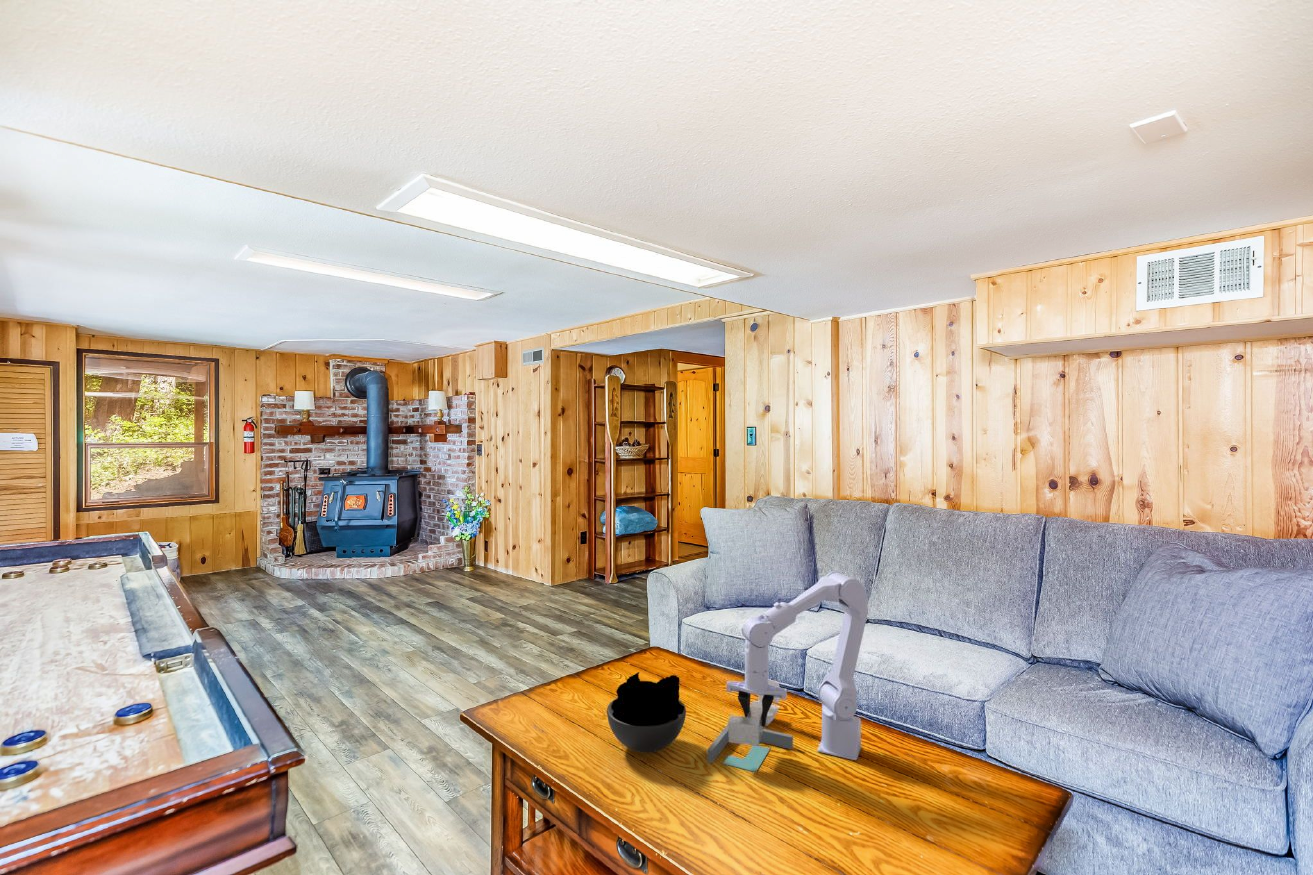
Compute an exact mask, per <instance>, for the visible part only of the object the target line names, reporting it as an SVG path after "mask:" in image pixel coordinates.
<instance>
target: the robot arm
mask: <svg viewBox="0 0 1313 875" xmlns="http://www.w3.org/2000/svg"><path fill="white" fill-rule="evenodd" d="M866 595H867V589H866V588H865V586H864V585H863V584H862V583H861V581H860V580H858V579H856V578H852V577H850V576H847V575H846V574H843V573H842V572H840V571H836V570H833V571H831V572H829V573H828V574H826V575H824V576H822V577H820V578H819V580H818V581H817V582H815V584H813V585H812V586H811V587H810V588H808V589H807V590H805V591H804V592H802V593H801V594H799V595H798V596H796V598H794V599H792V600H791V601H790V602H784V601H780V602H777V601H776V602H775V603H774V604H773V607H771V608H770V609H768V610H766V611H765V612H763V613H759V614H757V617H750V618H748V619H747V620H746V621H744V624H743V625H742V627H741V633H742V635H743V637H744V638H745V639H744V640H745V643H744V644H745V646H744V647H745V649H744V681H732V680H728V681H727V683H726V692H728V693H731V692H734V693H735V692H736V693H738V695H737V700H738V702H739V705H740V707H741V708H742V710H743V711H742V712H743V714H744V717H747V715H748V712H749V709H750V705H751V695H755V696H756V695H757V696H758V695H763V699H762V727H764V728H765V727H766V726H765V724H766V718H767V714H768V711H769V709H770V707H771V705H772V704H773V703H774V701H773V699H774V697H777V698H780V699H781V700H785V701H786V700H787V695H788V694H787V690H788V689H787V688H783V687H780V688H779V687H776V686H772V685H769V684H768V680H769V676H768V675H769V645H770V644H771V643H772V641H773V638H774V637H775V636H776V635H777V634H779V633H780V632H782V631H783V630H785V629H787V628H788V627H790V626H791V625H793V624H794V623H795V622H796V620H797V616H798V615H800V614H802V613H804V612H805V611H807V610H809V609H811V608H812V607H814V606H816V605H819V604H820V603H821V602H824V601H825V602H826V601H827V602H834V603H838V604H839V606H840V607H841V609H842V610H843V612H844V614H843V618H842V623H841V627H840V631H839V635H838V639H837V644H836V649H835V654H834V657H833V661H832V665H831V670H830V672H828V673H826V674H825V675H824V678H823V681H822V683H821V684H820V685H819V687H818V689H817V698H818V701H819V702H820V703H821V708H822V709H821V741H820V743H819V745H818V747H817V752H818V753H822V754H827V755H831V756H835V757H839V758H843V759H848V760H852V761H857V760H858V758H859V754H860V751H861V748H862V736H861V735H862V728H861V727H862V720H861V718H860V717H858V716H855V714H856V712H857V708H858V702H857V695H858V694H857V693H858V691H857V688H856V684H855V682H854V675H855V671H856V667H857V663H858V662H857V661H858V659H859V658H858V657H859V654H860V649H861V645H862V640H863V636H864V631H865V629H866V628H865V627H866V622H867V620H868V613H869V607H868V603H867V598H866Z"/></svg>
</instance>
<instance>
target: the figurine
mask: <svg viewBox="0 0 1313 875" xmlns="http://www.w3.org/2000/svg"><path fill="white" fill-rule="evenodd" d="M769 675H770V674H768V677H770V676H769ZM768 684H769V685H772V686H776V687H779V688H781V687H780V684H779V682H777V681H773V680H769V679H768ZM757 696H758V697H757V698H758V700H756V699H755V700H754V701H756V702H762V699H763V695H757ZM780 699H781V698H777V697H774V699H773V703H774V704H773V703H772V705H771V707H770V709H769V711H768V714H767V718H766V724H765V727H768V726H769V725H770V724H771V723H772V722H773V721H774V719H775V717H776V715H777V713H778V711H779V708H780V707H781V706H780V705H775V704H778V703H779V702H780ZM750 706H751V704H750Z"/></svg>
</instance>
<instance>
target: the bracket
mask: <svg viewBox="0 0 1313 875" xmlns="http://www.w3.org/2000/svg"><path fill="white" fill-rule="evenodd" d="M750 705H751V706H750V709H749V712H748V715H747V717H745V716H741V715H734V714H733V715H732V714H730V715H729V719H728V720H727V721H728V722H727V725H728V735H729V741H728V743H732V744H741V745H748V746H753V745H754V746H760V744H761V742H760V740H761V736H762V732H763V729H765V727H762V702H756V701H755V700H752V701H750Z"/></svg>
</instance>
